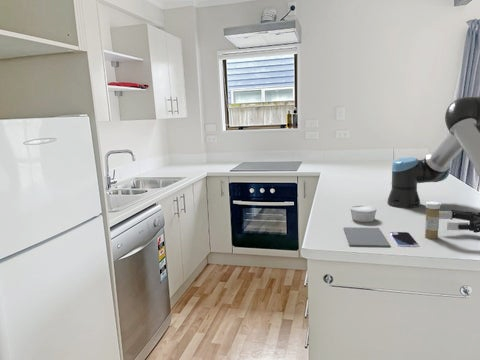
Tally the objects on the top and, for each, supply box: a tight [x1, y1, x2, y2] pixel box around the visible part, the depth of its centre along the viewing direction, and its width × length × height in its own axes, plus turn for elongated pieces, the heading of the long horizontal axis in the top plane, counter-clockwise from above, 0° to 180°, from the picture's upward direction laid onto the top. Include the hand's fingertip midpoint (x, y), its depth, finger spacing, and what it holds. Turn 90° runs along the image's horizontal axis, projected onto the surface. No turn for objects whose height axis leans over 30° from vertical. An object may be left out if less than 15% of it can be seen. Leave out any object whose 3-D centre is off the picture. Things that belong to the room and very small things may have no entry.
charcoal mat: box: [343, 226, 392, 248], centre depth 137 cm, size 20×14×1 cm
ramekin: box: [349, 204, 377, 223], centre depth 159 cm, size 11×11×5 cm
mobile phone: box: [388, 231, 420, 248], centre depth 133 cm, size 8×1×15 cm
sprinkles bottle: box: [424, 201, 441, 240], centre depth 132 cm, size 5×5×13 cm
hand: (439, 220), depth 131 cm, fingers open, 13 cm apart
